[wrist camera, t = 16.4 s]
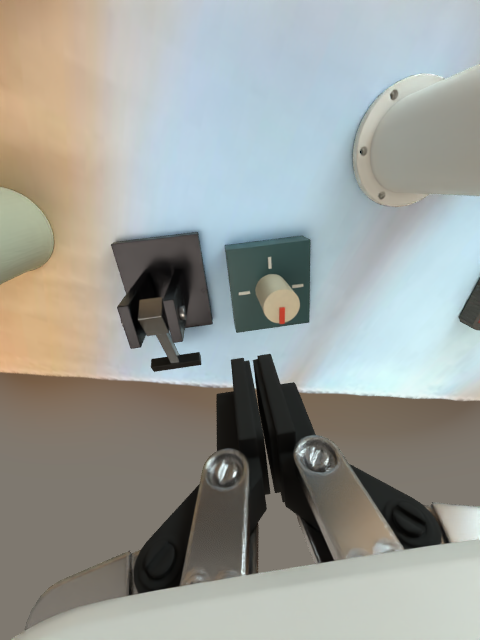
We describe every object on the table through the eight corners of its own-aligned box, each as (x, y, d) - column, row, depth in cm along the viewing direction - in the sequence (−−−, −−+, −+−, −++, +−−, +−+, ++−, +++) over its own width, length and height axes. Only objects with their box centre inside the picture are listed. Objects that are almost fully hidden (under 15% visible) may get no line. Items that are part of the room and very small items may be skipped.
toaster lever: (200, 352, 36) (201, 369, 34) (154, 359, 36) (153, 376, 34) (182, 293, 27) (182, 313, 25) (119, 302, 26) (116, 322, 25)
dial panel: (302, 235, 35) (311, 239, 32) (302, 313, 40) (309, 323, 37) (224, 245, 34) (226, 250, 32) (234, 322, 39) (236, 333, 37)
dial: (254, 275, 33) (263, 292, 28) (287, 272, 34) (301, 288, 29) (255, 305, 35) (264, 326, 30) (286, 302, 35) (300, 322, 30)
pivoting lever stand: (212, 319, 39) (214, 369, 28) (140, 329, 38) (115, 384, 28) (198, 231, 33) (194, 253, 23) (114, 241, 33) (71, 268, 22)
